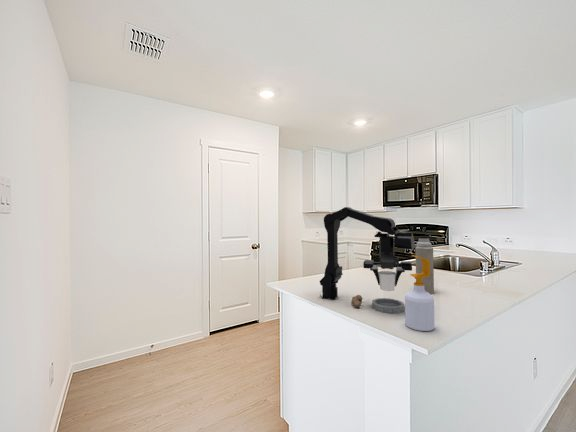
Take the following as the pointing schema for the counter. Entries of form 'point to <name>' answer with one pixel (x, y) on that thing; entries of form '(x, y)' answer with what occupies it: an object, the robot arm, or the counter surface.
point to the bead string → (356, 301)
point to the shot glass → (387, 280)
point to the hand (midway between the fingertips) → (387, 285)
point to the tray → (388, 305)
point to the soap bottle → (420, 302)
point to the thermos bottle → (426, 252)
